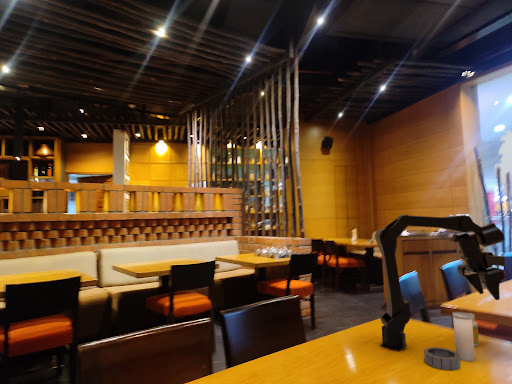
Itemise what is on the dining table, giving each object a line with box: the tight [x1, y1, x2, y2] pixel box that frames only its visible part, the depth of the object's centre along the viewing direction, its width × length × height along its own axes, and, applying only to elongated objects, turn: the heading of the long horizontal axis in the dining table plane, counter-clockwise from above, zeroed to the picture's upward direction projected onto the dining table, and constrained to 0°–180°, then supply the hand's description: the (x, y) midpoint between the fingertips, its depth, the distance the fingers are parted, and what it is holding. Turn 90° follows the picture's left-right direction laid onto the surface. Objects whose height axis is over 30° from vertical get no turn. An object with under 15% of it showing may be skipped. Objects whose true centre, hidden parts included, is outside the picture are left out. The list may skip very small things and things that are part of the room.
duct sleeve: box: [452, 311, 476, 362], centre depth 103 cm, size 5×5×13 cm
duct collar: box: [423, 346, 461, 371], centre depth 99 cm, size 9×9×3 cm
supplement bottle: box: [467, 312, 480, 347], centre depth 115 cm, size 5×5×10 cm
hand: (489, 296), depth 111 cm, fingers open, 9 cm apart
